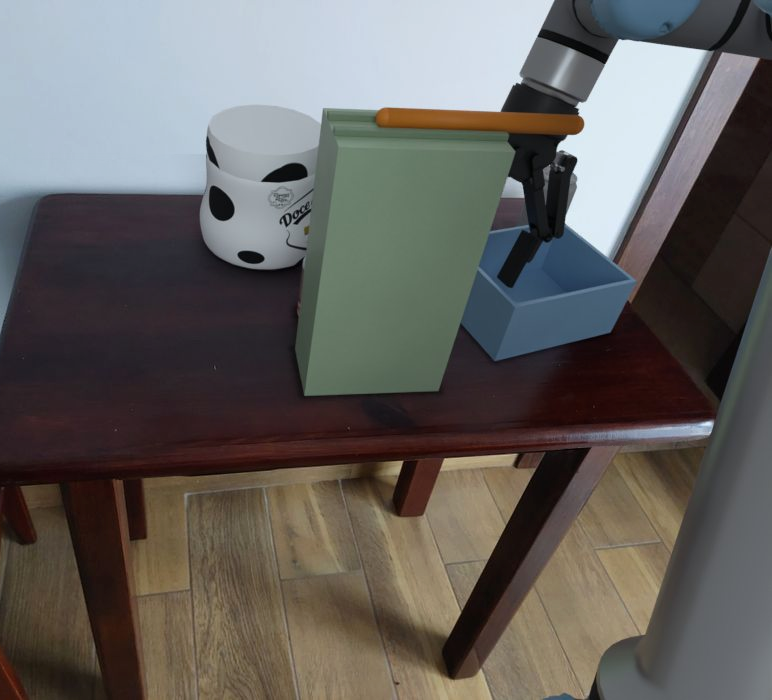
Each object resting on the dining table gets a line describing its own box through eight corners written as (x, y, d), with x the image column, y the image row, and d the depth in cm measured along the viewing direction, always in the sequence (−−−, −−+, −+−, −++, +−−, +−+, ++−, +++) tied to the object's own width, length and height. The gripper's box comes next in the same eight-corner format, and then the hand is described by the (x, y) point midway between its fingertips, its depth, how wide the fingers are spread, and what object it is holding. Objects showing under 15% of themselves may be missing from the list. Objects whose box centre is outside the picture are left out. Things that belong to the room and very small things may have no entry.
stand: (420, 346, 85) (487, 107, 65) (438, 391, 79) (518, 145, 59) (294, 349, 82) (323, 101, 62) (304, 396, 76) (339, 139, 56)
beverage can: (550, 259, 104) (579, 188, 96) (509, 247, 105) (533, 177, 97) (554, 239, 108) (582, 170, 100) (514, 228, 109) (538, 159, 101)
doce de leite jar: (328, 282, 93) (345, 161, 81) (201, 282, 90) (200, 157, 78) (310, 216, 106) (323, 103, 94) (198, 215, 103) (197, 98, 91)
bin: (610, 332, 91) (637, 281, 85) (494, 361, 84) (515, 307, 79) (540, 269, 101) (560, 219, 95) (431, 290, 94) (446, 238, 89)
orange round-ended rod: (575, 130, 64) (582, 111, 63) (583, 138, 63) (590, 120, 62) (371, 123, 61) (375, 103, 60) (376, 131, 60) (379, 112, 58)
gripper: (612, 120, 79) (523, 279, 88) (435, 44, 69) (356, 232, 78) (655, 138, 73) (555, 306, 82) (469, 58, 63) (378, 259, 72)
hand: (458, 271), depth 80 cm, fingers open, 13 cm apart
